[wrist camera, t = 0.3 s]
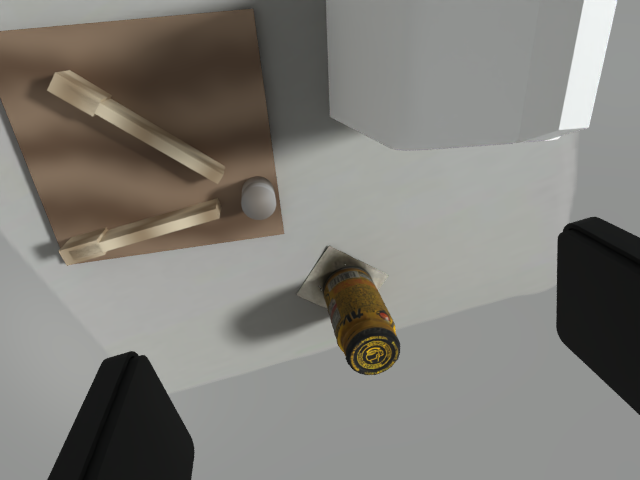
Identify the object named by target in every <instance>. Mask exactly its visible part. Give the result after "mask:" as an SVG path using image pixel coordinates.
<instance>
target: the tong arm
mask: <svg viewBox="0 0 640 480" xmlns="http://www.w3.org/2000/svg"><path fill="white" fill-rule="evenodd" d="M47 91H49V92H51V93H52V94H54V95H56V96H58V97H59V98H61V99H63V100H65V101H66V102H68V103H70V104H72V105H73V106H75V107H77V108H79V109H80V110H82V111H84V112H86V113H87V114H89V115H91V116H95V115H98V116H100V117H101V118H103V119H105V120H107V121H108V122H110V123H112V124H114V125H115V126H117V127H119V128H121V129H122V130H124V131H126V132H128V133H129V134H131V135H133V136H135V137H136V138H138V139H140V140H142V141H143V142H145V143H147V144H149V145H150V146H152V147H154V148H156V149H157V150H159V151H161V152H163V153H164V154H166V155H168V156H170V157H171V158H173V159H175V160H177V161H178V162H180V163H182V164H184V165H185V166H187V167H189V168H190V169H192V170H194V171H196V172H197V173H199V174H201V175H203V176H204V177H206V178H208V179H210V180H211V181H213V182H215V183H217V184H218V183H219V182H220V180H221V178H222V177H223V175H224V169H225V166H224V165H222V164H220V163H218V162H217V161H215V160H213V159H212V158H210V157H208V156H207V155H205V154H203V153H202V152H200V151H198V150H197V149H195V148H193V147H192V146H190V145H188V144H186V143H185V142H183V141H181V140H180V139H178V138H176V137H175V136H173V135H171V134H170V133H168V132H166V131H165V130H163V129H161V128H160V127H158V126H156V125H154V124H153V123H151V122H149V121H148V120H146V119H144V118H143V117H141V116H139V115H138V114H136V113H134V112H133V111H131V110H129V109H127V108H126V107H124V106H122V105H121V104H119V103H117V102H116V101H114V100H112V99H111V97H112V95H110V94H109V93H107V92H105V91H104V90H102V89H100V88H99V87H97V86H95V85H94V84H92V83H90V82H89V81H87V80H85V79H84V78H82V77H80V76H79V75H77V74H75V73H74V72H72V71H70V70H68V71H61V72H55V74H54V76H53V78H52V81H51V83H50V85H49V87H48V89H47Z"/></svg>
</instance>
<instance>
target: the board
mask: <svg viewBox="0 0 640 480" xmlns="http://www.w3.org/2000/svg"><path fill="white" fill-rule="evenodd" d="M68 70H70V71H72V72H74V73H75V74H77V75H79V76H80V77H82V78H84V79H85V80H87V81H89V82H90V83H92V84H94V85H95V86H97V87H99V88H100V89H102V90H104V91H105V92H107V93H109V94H110V95H112V97H111V99H112V100H114V101H116V102H117V103H119V104H121V105H122V106H124V107H126V108H127V109H129V110H131V111H133V112H134V113H136V114H138V115H139V116H141V117H143V118H144V119H146V120H148V121H149V122H151V123H153V124H154V125H156V126H158V127H160V128H161V129H163V130H165V131H166V132H168V133H170V134H171V135H173V136H175V137H176V138H178V139H180V140H181V141H183V142H185V143H186V144H188V145H190V146H192V147H193V148H195V149H197V150H198V151H200V152H202V153H203V154H205V155H207V156H208V157H210V158H212V159H213V160H215V161H217V162H218V163H220V164H222V165H224V166H225V169H224V175H223V177H222V178H221V180H220V182H219V183H218V184H217V183H215V182H213V181H211V180H210V179H208V178H206V177H204V176H203V175H201V174H199V173H197V172H196V171H194V170H192V169H190V168H189V167H187V166H185V165H184V164H182V163H180V162H178V161H177V160H175V159H173V158H171V157H170V156H168V155H166V154H164V153H163V152H161V151H159V150H157V149H156V148H154V147H152V146H150V145H149V144H147V143H145V142H143V141H142V140H140V139H138V138H136V137H135V136H133V135H131V134H129V133H128V132H126V131H124V130H122V129H121V128H119V127H117V126H115V125H114V124H112V123H110V122H108V121H107V120H105V119H103V118H101V117H100V116H98V115H95V116H91V115H89V114H87V113H86V112H84V111H82V110H80V109H79V108H77V107H75V106H73V105H72V104H70V103H68V102H66V101H65V100H63V99H61V98H59V97H58V96H56V95H54V94H52V93H51V92H49V91H47V89H48V87H49V85H50V83H51V81H52V78H53V76H54V74H55V72H61V71H68ZM0 98H1V101H2V103H3V106H4V108H5V111H6V113H7V116H8V118H9V121H10V123H11V126H12V128H13V131H14V134H15V136H16V139H17V141H18V144H19V146H20V149H21V151H22V154H23V156H24V159H25V161H26V164H27V166H28V169H29V171H30V174H31V176H32V179H33V181H34V184H35V186H36V189H37V191H38V194H39V196H40V199H41V201H42V204H43V206H44V209H45V211H46V214H47V216H48V219H49V221H50V224H51V227H52V229H53V232H54V234H55V237H56V239H57V242H58V244H59V247H60V249H61V248H62V247H63V246H64V244H65V243H66V242H67V241H68V240H69V239H70V238H71V237H75V236H78V235H82V234H85V233H89V232H92V231H96V230H99V229H103V228H106V227H107V229H108V230H110V229H113V228H117V227H120V226H124V225H127V224H130V223H134V222H137V221H141V220H144V219H148V218H151V217H155V216H158V215H162V214H165V213H169V212H172V211H175V210H179V209H182V208H186V207H189V206H193V205H196V204H200V203H203V202H207V201H210V200H214V199H217V198H218V200H219V203H220V205H221V212H220V218H219V219H216V220H212V221H209V222H205V223H202V224H198V225H195V226H192V227H188V228H185V229H181V230H178V231H174V232H171V233H168V234H164V235H161V236H157V237H154V238H150V239H147V240H143V241H140V242H137V243H133V244H130V245H126V246H123V247H119V248H116V249H112V250H109V251H107V252H106V254H105V255H103V256H99V257H96V258H92V259H89V260H86V261H82V262H79V263H85V262H92V261H99V260H106V259H113V258H120V257H126V256H133V255H140V254H147V253H154V252H161V251H168V250H175V249H182V248H189V247H196V246H203V245H210V244H217V243H224V242H231V241H238V240H245V239H252V238H259V237H266V236H273V235H280V234H284V230H283V222H282V215H281V208H280V200H279V193H278V186H277V178H276V171H275V164H274V157H273V149H272V142H271V135H270V127H269V120H268V113H267V106H266V98H265V91H264V84H263V76H262V69H261V62H260V55H259V47H258V40H257V33H256V25H255V18H254V11H253V9H244V10H232V11H221V12H210V13H199V14H188V15H176V16H165V17H154V18H143V19H131V20H120V21H109V22H98V23H86V24H75V25H64V26H53V27H42V28H30V29H19V30H8V31H0ZM254 176H261V177H264V178H266V179H268V180H269V181H270V182H271V183H272V185H273V187H274V192H275V198H276V208H275V211H274V212H273V214H272V215H271V216H270V217H268V218H266V219H263V220H255V219H252V218H250V217H248V216H247V215H246V214H245V213H244V211H243V209H242V206H241V199H242V187H243V185H244V183H245V182H246V181H247V180H248V179H249V178H251V177H254ZM75 264H78V263H75Z"/></svg>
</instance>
